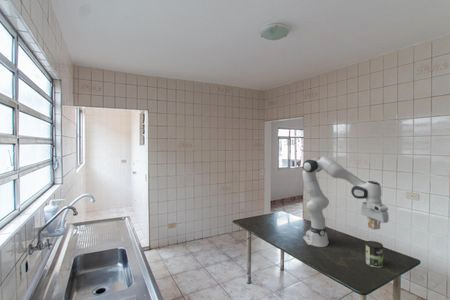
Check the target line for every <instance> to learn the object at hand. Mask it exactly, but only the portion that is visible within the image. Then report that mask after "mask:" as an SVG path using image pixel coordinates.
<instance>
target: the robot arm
mask: <svg viewBox="0 0 450 300" xmlns="http://www.w3.org/2000/svg"><path fill="white" fill-rule="evenodd" d="M302 169H303V170H302V173H301V175H302V181H303V184H304V186H305V187H304V188H305V191H306V193H308V194H309V195H310V197H311V199H309V200H308V201H307V203H306V206H305V207H306V209H307V211H308V212H309V215H310V223H311V224H310V225H309V226H310V227H309V229H308V230H306V232H305V235H303V237H302V239H303V240H304V241H305V242H306V244H307V245H308V246H309V245H310V246H313V247H318V248H325V247H327V246H328V245H329V243H330V241H329V239H328V232H327V227H326V217H325V216H324V213H323V211H324V210H325V209H326V208H327V207H328V205H329V204H330V200H329V198H328V197H327V196H326V195H325V194H324V192H323V191H322V189H321V187H320V184H319V181H318V178H317V173H319V172H321V171H324V172H325V173H326V174H327V175H329V177H332V178H334V179H339V180H340V179H341V180H345V181H347V182H349V183H350V184H351V185H353V186H352V187H351V189H350V190H351V191H350V193H351V195H352V196H353V197H354V199H358V200H360V199H362V200H363V199H365V201H363V202H362V203H361V205H362V206H361V208H360V209H361V210H360V212H361V215H363V216H365V217H366V218H367V220H368V218H372V219H375V220H377V224H376V226H377V227H380V228H381V223H383V224H386V223H388V222H389V208H388V207H387V206H386V205H385V204H383V202H382V187H381V184H380V183H379V182H377V181H374V180H369V181H364V180H362V179H360V178H359V177H357V176H356V175H354V174H353V173H352V172H350V171H348V169H346V168H345V167H343V166H342V165H341V164H339V163H338V162H337V161H336V160H334V159H333V158H331V157H329V156H327V155H323V156H321V157H313V158H310V159H307V160H305V161H304V162H303V164H302Z"/></svg>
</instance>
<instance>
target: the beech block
mask: <svg viewBox="0 0 450 300" xmlns="http://www.w3.org/2000/svg"><path fill="white" fill-rule="evenodd" d="M376 224H377V220H375V219H372V218H368V219H367V227H368V228H370V229H372V230H380V229H381V226H380V227H377V226H376Z"/></svg>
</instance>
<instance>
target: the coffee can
mask: <svg viewBox="0 0 450 300" xmlns="http://www.w3.org/2000/svg"><path fill="white" fill-rule="evenodd" d="M365 263H366V265H368V266H370V267H373V268H382V267H384V245H383V244H382V243H381V242H378V241H375V240H367V241H365Z"/></svg>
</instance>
